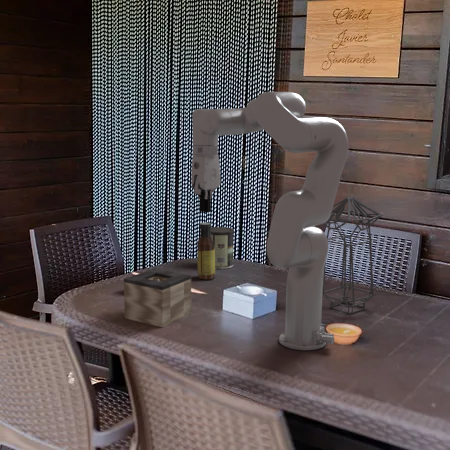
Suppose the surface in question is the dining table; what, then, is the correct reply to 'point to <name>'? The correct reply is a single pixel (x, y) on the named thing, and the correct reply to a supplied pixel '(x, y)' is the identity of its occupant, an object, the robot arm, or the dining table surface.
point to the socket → (157, 297)
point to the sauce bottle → (205, 253)
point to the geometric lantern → (351, 249)
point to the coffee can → (223, 246)
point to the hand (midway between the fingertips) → (205, 211)
